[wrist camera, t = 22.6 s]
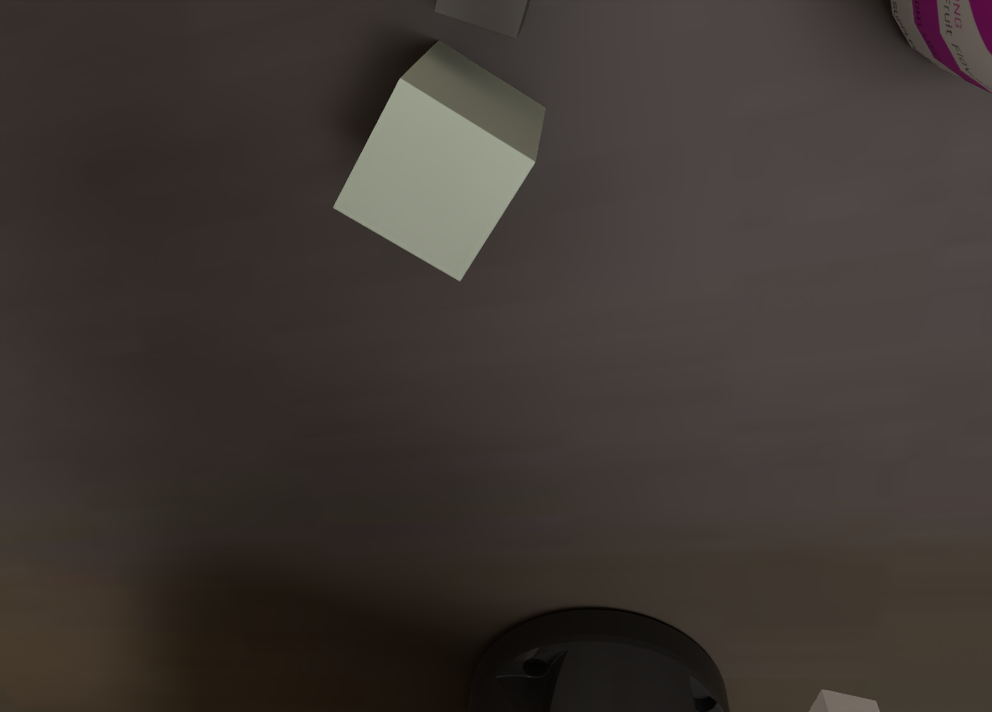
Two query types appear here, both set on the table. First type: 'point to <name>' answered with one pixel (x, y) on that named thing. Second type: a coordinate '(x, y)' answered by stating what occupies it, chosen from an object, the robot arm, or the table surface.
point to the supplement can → (950, 35)
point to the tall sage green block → (444, 160)
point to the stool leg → (487, 14)
